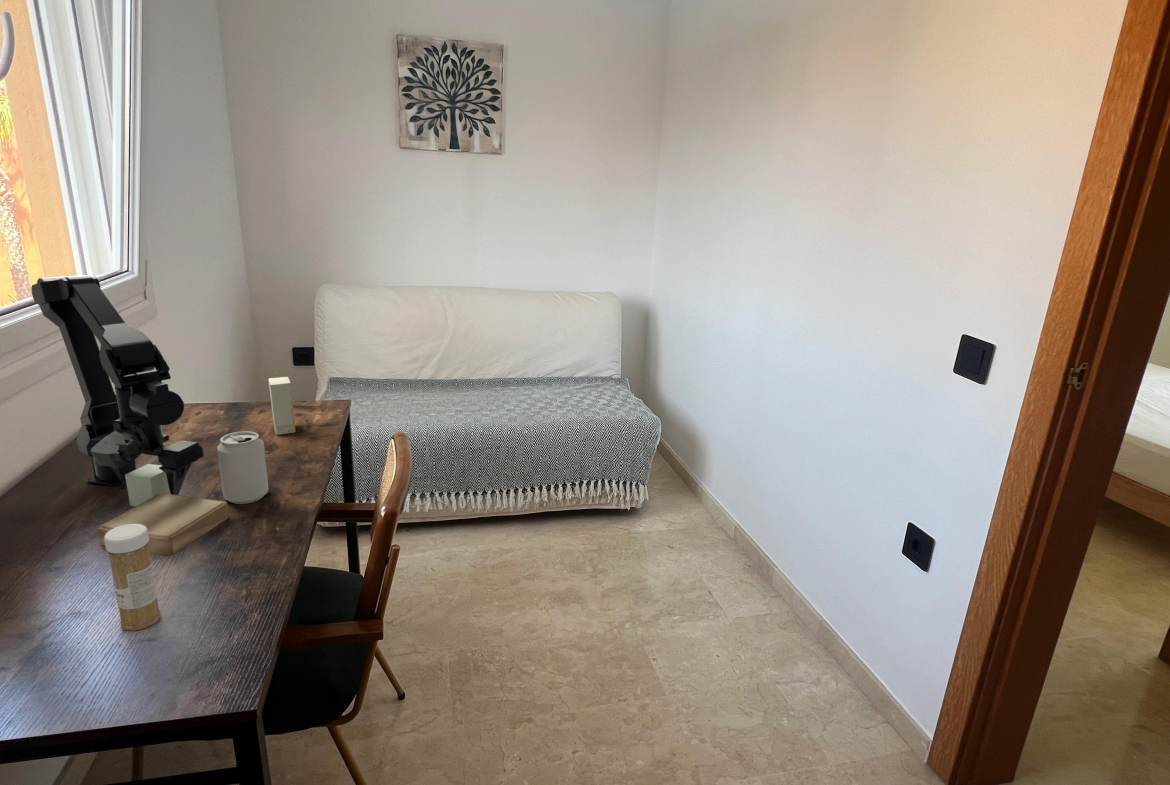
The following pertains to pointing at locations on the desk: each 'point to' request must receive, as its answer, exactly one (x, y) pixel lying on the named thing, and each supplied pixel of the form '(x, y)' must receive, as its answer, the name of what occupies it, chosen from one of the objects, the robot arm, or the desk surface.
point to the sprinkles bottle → (133, 576)
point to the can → (242, 467)
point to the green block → (146, 484)
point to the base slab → (171, 520)
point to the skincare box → (282, 405)
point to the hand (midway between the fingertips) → (152, 493)
